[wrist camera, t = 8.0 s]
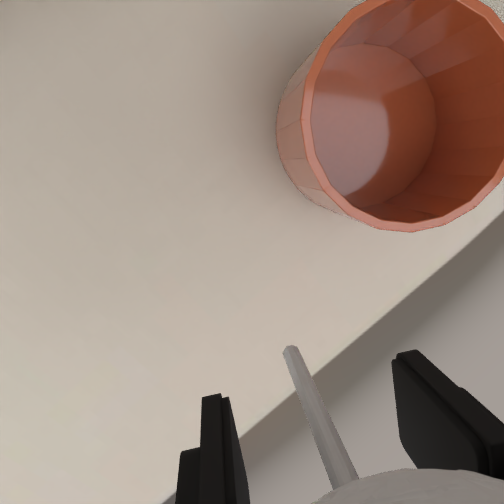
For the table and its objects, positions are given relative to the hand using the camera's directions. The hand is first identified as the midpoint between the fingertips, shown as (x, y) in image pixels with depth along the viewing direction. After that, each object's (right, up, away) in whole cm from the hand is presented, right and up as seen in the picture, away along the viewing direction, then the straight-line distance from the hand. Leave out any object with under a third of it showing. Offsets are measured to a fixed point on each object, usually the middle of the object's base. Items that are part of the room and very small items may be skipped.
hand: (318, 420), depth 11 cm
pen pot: (+7, +15, +21) cm, 26 cm away
